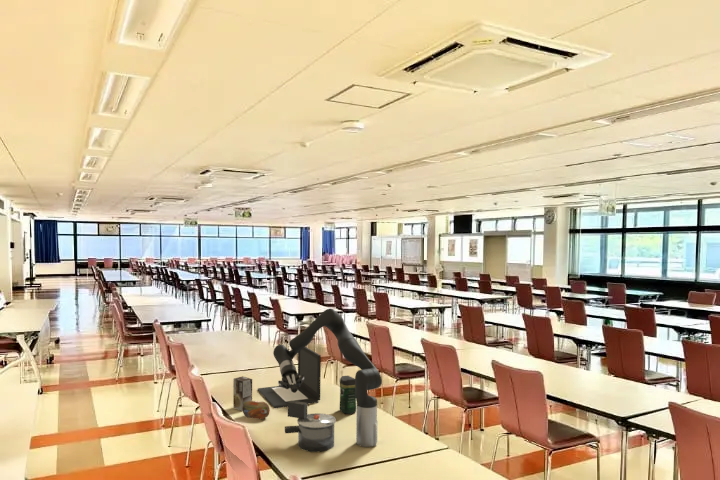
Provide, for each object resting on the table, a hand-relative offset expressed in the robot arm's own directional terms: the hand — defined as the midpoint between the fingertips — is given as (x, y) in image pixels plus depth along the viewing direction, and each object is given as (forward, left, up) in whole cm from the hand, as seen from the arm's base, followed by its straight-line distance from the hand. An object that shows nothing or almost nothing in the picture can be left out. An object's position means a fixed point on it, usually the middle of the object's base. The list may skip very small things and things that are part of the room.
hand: (294, 390), depth 238 cm
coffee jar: (-18, -43, -23) cm, 52 cm away
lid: (-9, +3, -12) cm, 15 cm away
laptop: (+21, -64, -23) cm, 71 cm away
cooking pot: (-8, +5, -22) cm, 24 cm away
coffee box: (+39, -39, -23) cm, 59 cm away
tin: (+27, -26, -23) cm, 44 cm away
